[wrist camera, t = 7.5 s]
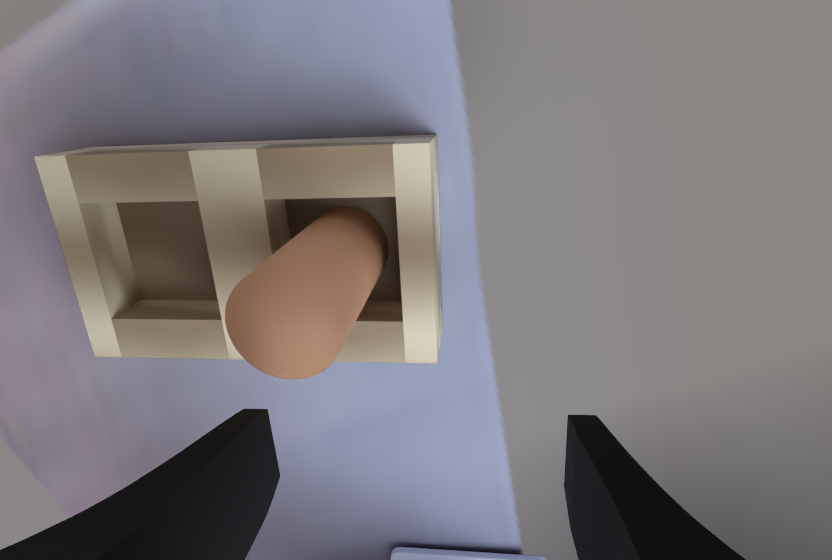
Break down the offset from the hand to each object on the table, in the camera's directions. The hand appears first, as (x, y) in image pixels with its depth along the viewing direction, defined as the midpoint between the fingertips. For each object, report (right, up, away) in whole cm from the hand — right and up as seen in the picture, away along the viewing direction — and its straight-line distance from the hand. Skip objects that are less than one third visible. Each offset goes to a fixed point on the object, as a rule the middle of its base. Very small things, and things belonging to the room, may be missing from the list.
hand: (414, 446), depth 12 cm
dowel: (-3, +5, +8) cm, 10 cm away
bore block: (-6, +6, +9) cm, 12 cm away
